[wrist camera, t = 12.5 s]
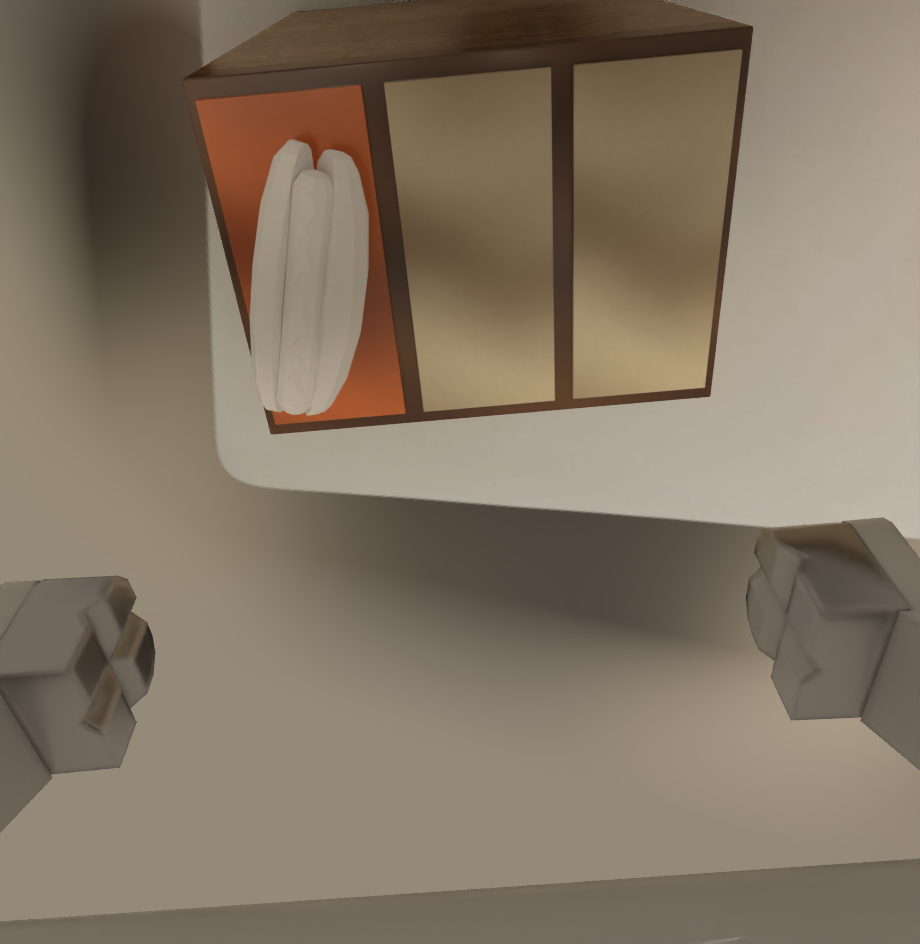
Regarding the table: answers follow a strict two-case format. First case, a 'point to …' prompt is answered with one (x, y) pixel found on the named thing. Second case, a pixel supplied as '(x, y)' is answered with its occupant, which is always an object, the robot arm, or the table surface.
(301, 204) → the grey ribbed oval piece
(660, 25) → the oak stand
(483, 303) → the board
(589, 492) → the table surface
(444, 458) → the table surface
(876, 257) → the table surface
